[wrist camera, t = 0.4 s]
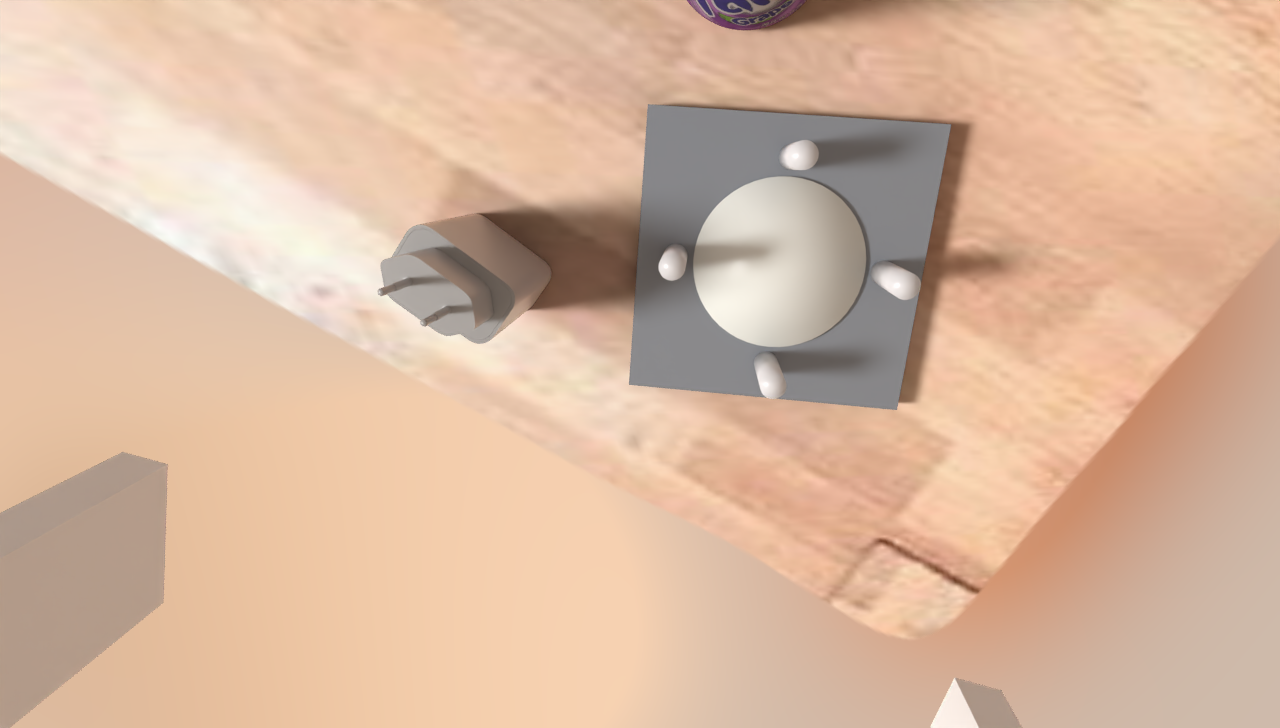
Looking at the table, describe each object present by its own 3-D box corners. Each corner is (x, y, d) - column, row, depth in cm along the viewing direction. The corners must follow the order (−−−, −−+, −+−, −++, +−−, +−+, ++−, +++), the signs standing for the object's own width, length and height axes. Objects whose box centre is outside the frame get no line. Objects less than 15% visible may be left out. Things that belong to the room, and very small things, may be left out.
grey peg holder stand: (649, 106, 33) (640, 95, 28) (943, 125, 32) (986, 118, 27) (631, 379, 37) (620, 410, 32) (891, 403, 36) (920, 439, 31)
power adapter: (525, 316, 36) (442, 385, 25) (441, 255, 36) (317, 296, 24) (557, 270, 35) (486, 319, 24) (472, 207, 35) (358, 226, 23)
